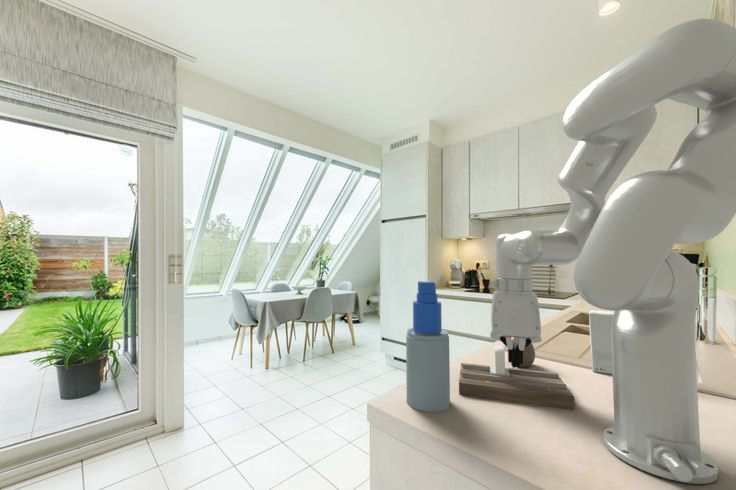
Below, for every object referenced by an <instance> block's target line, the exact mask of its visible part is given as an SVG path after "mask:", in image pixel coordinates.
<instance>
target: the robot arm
mask: <svg viewBox="0 0 736 490" xmlns="http://www.w3.org/2000/svg"><path fill="white" fill-rule="evenodd" d="M667 99H668V100H671V101H674V102H675V103H676V102H677V103H681V104H685V105H689V106H691V107H695V108H698V109H700V110H702V111H703V112H705V115H704V117H703V119H702V120H700V122H698V123H697V125H695V127H693V128H692V129H691V130H690V132H689V133H688V134H687V135H686V137H685V138H684V139H683V141H682V142H681V144H680V146H679V148H678V151H677V152H676V155H675V156H674V158H673V159H672V161H671V163H670V165H668V166H669V167H668V168H667V170H665V169H662V170H660V169H658V170H651V171H646V172H640V173H639V174H637V175H634V176H632V177H630V178H628V179H626V180H625V181H623V182H622V183H621V184H620V185H619V186H617V187H616V188H615V190H613V191H612V192H611V194H610V195H609V197H608V198H607V199H606V197H607V194H608V193H609V191H610V190H611V188H612V186H613V185H614V184H615V183H616V181H617V179H618V178H619V176H620V175H621V174H622V173H623V171H624V169H625V168H626V167H627V165H628V163H629V162H630V161H631V159H632V158H633V157H634V156H635V154H636V153H637V151H638V150H639V148H640V146H641V145H642V143H643V142H644V141H645V139H646V138H647V136H648V135H649V133H650V132H651V130H652V129H653V127H654V125H655V123H656V121H657V113H658V111H657V108H656V106H655V105H657V104H658V103H661V102H663V101H665V100H667ZM561 125H562V129H563V130H562V131H564V134H565V135H566V136H567V137H568V138H570V139H572V140H574V141H577V144H576V145H575V147H574V149H573V151H572V152H571V154H570V155H569V157H568V159H567V161H566V162H565V164H564V165H563V168H562V169H561V171H560V172H559V174H558V176H557V183H558V184H559V186H560V187H561V188H562V189H564V191H566V193H567V195H568V197H569V201H570V206H569V207H570V208H569V211H568V214H567V216H566V217H565V219H564V221H563V223H562V224H561V225H560V227H559V228H558V230H557V229H555V230H554V229H537V228H536V229H526V230H523V231H519V232H514V233H513V232H511V233H502V234H499V235H497V236H496V239H495V259H496V260H495V262H496V264H495V266H496V268H495V269H496V272H495V274H496V279H495V280H490V281H489V286H490V287H494V288H495V289H496V290H494V291H493V293H492V299H491V310H490V312H491V313H490V314H491V315H490V317H491V318H490V322H491V324H490V325H491V326H490V327H491V330H490V334H489V335H490V336H489V337H490V339H493V340H497V341H500V342H501V343H502V344H503V345H505V347H506V348H507V361H508V363H510V364H511V368H515V369H521V367H520V364H523V350H524V349H525V348H526V347H527V346H528V345H529V344H531V343H532V344H536V343H541V342H542V337H541V336H542V335H541V334H542V325H541V324H542V323H541V314H540V313H541V312H540V311H541V310H540V306H539V303H540V302H539V298H538V294H537V293H536V292H533V267H532V266H548V265H549V266H560V265H561V266H564V265H569V264H572V263H573V262H575V261H576V264H575V266H574V272H573V279H574V280H573V281H574V286H575V289H576V291H577V292H578V293H577V294H579V296H580V297H581V298H582V299H583V300H584V301H585V302H586V303H587V304H590V305H591V306H592V307H595V308H598V309H601V310H603V311H612V312H614V316H613V320H612V327H611V350H612V393H613V395H612V396H613V417H614V421H613V422H614V425H612V426H609V427H606V429H604V431H602V440H603V441H602V442H603V444H604V446H605V447H606V448H607V450H609V451H610V452H611V453H612V454H613V455H615V457H618V458H619V459H621V460H622V461H623V462H625V463H627V464H628V465H631V466H632V467H634V468H637V469H639V470H642V471H643V472H646V473H649V474H652V475H654V476H656V477H660V478H663V479H666V480H671V481H675V482H679V483H685V484H694V485H703V484H705V485H707V484H709V483H714V482H715V481H717V480H718V478H719V469H718V465H717V463H716V462H715V460H714V459H712V457H710V456H709V455H708V454H707V453H705V452H704V451H702V450H701V434H700V433H701V431H700V417H699V416H700V414H699V399H698V396H699V395H698V377H697V359H696V357H697V356H696V355H697V354H696V352H697V351H696V317H697V315H696V314H697V308H698V303H699V295H700V281H699V276H698V272H697V270H696V269H695V267H694V266H693V264H692V263H691V262H690V260H688V259H687V258H686V257H685V256H683V255H682V254H681V253H678V252H677V251H676V250H675V251H674V250H673V249H674V247H675V245H677V244H678V245H679V244H683V245H686V244H698V243H699V244H700V243H702V242H703V243H704V242H706V241H709V240H711V239H713V238H715V237H717V236H719V235H720V234H721V233H723V231H724V230H726V229H727V227H728V226H729V224H730V223H731V221H732V220H733V218H734V217H735V216H736V27H734V26H732V25H730V24H728V23H726V22H725V21H724V22H723V21H720V20H718V19H716V18H698V19H691V20H687V21H684V22H682V23H678V24H677V25H674V26H672V27H671V28H668V29H667V30H665V31H663V32H661V33H660V34H659V35H657V36H656V37H654V38H652V39H651V40H649V41H648V42H647V43H645V44H643V45H642V46H641V47H640V48H638V49H636V51H634V52H632V53H631V54H629V55H628V56H627V57H625V58H624V59H622V60H621V61H620V62H618V63H616V65H614V66H612V67H611V68H609V69H607V71H605V72H604V73H603V74H601V75H600V76H598V77H597V78H596V79H594V80H593V81H591V82H590V83H589V84H588V85H587V86H585V87H584V88H583V89H582V90H581V91H580V92H579V93H578V94H577V95H576V96H575V97H574V98H573V99H572V101H571V102H570V103H569V105H568V106H567V108H566V109H565V112H564V114H563V117H562V123H561ZM514 337H518V343H517V345H516V348H514V345H513V344H512V339H513V338H514Z"/></svg>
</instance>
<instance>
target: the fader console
mask: <svg viewBox="0 0 736 490" xmlns="http://www.w3.org/2000/svg"><path fill="white" fill-rule="evenodd" d="M490 366H491V365H483V364H474V363H467V362H466V363H465V362H460V370H459V380H458V395H461V396H462V395H463V396H471V397H478V398H485V399H494V400H500V401H507V402H515V403H522V404H528V405H529V404H530V405H538V406H544V407H546V406H547V407H553V408H560V409H568V410H575V409H576V407H575V406H576V405H575V396H574V394H573V393H572V391H571V390H570V388H569V387H568V386H567V383H565V382H564V381H563V379H562V378H561V377H560V375H559V373H557V372H552V371H544V370H543V371H542V370H536V369H535V370H534V369H533V370H532V369H523V368H516V367H515V368H512V367H507V368H508V370H509V373H510V377H504V376H495V375H490ZM575 411H576V410H575Z"/></svg>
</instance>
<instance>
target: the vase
mask: <svg viewBox="0 0 736 490" xmlns="http://www.w3.org/2000/svg"><path fill="white" fill-rule="evenodd" d="M517 343H518V337H512V344H513V345H514V348H516V345H517ZM535 359H536V351H535V346H534V343H531V344H529V345H528V346H527V347H526V348H525V349H524V350H523V364H520V368H530V367H531V366H532V365H533V364H534V362H535Z"/></svg>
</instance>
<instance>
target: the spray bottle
mask: <svg viewBox="0 0 736 490" xmlns="http://www.w3.org/2000/svg"><path fill="white" fill-rule="evenodd" d="M442 319H443V318H442V302H441V301H439V300H438V293H437V284H436V281H422V280H421V281H420V280H419V281H417V293H416V300H414V301H412V328H408V329H407V331H406V335H405V338H406V339H405V341H406V342H405V347H406V349H405V352H406V354H405V355H406V359H405V360H406V361H405V362H406V363H405V364H406V367H405V368H406V379H405V380H406V403H407V405H408V406H409V407H411V408H412V409H414V410H417V411H420V412H425V413H439V412H444V411H446V410H447V409H449V408H450V405H451V393H450V392H451V380H450V377H451V376H450V372H451V371H450V370H451V369H450V336H449V332H448V331H447V330H446V329H443V328H442V326H443V325H442V324H443V322H442Z"/></svg>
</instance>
